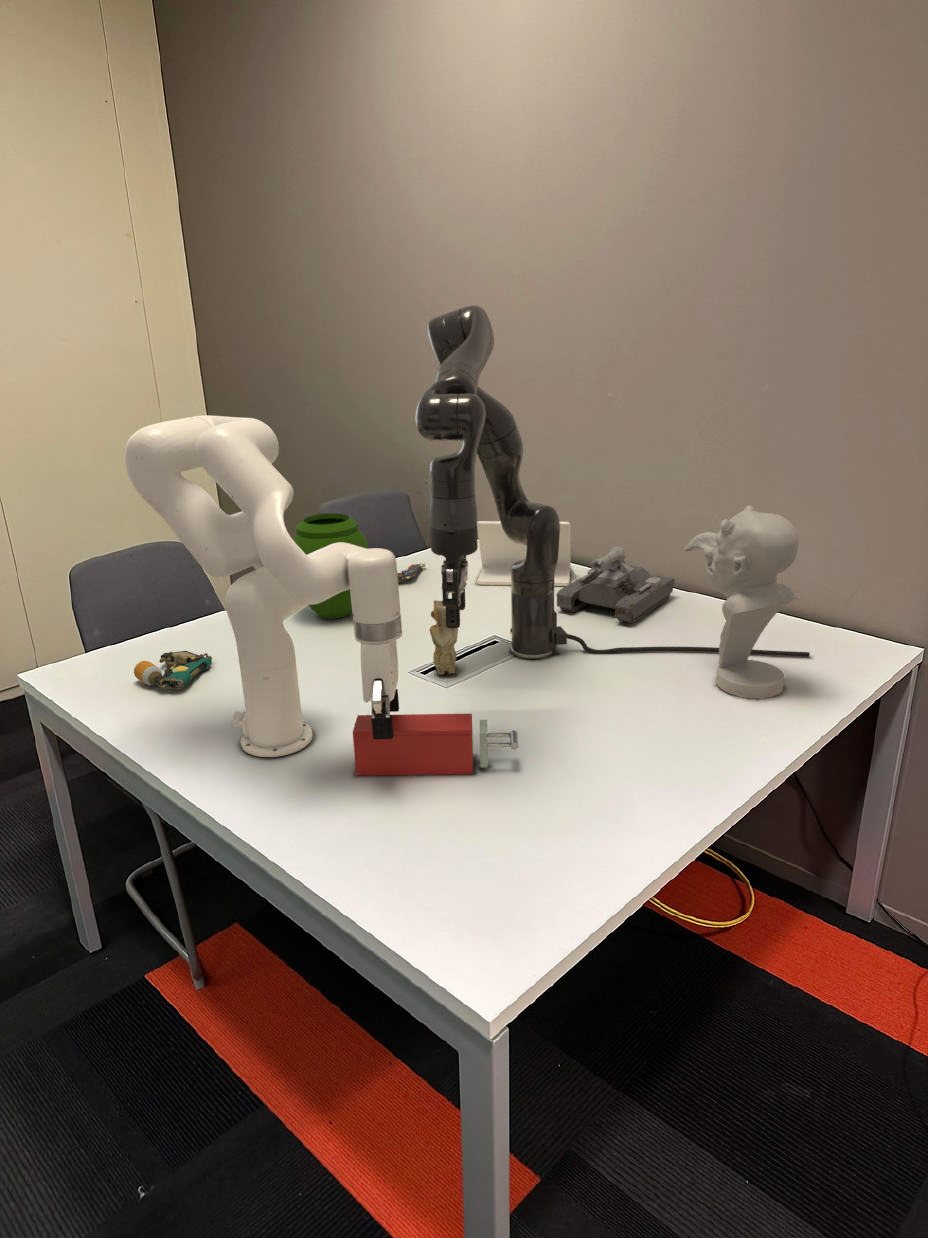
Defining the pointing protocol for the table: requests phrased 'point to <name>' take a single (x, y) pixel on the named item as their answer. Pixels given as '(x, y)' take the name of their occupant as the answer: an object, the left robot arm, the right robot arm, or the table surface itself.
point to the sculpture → (443, 640)
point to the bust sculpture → (748, 593)
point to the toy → (616, 588)
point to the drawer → (485, 745)
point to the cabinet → (415, 745)
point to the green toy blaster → (172, 669)
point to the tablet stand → (515, 554)
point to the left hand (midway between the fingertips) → (386, 724)
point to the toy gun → (410, 571)
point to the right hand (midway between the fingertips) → (456, 618)
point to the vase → (319, 535)
